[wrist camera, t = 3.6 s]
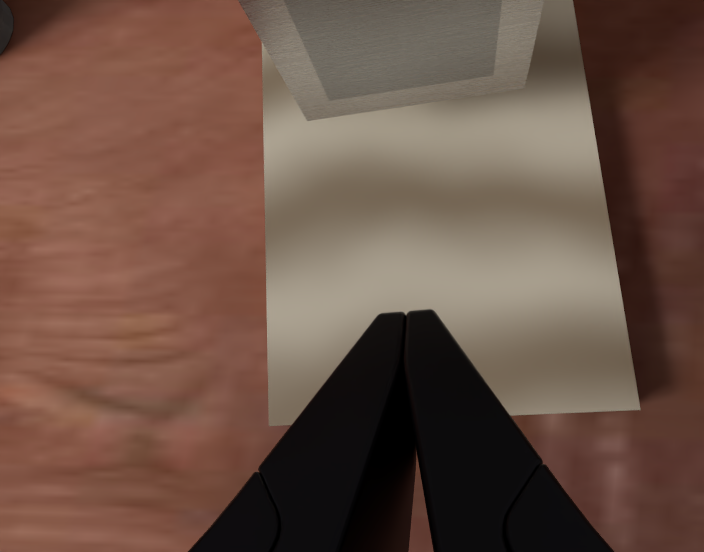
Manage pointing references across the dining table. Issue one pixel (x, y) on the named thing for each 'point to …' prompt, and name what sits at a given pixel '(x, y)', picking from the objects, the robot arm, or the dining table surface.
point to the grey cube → (395, 50)
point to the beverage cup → (5, 25)
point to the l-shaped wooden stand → (450, 236)
